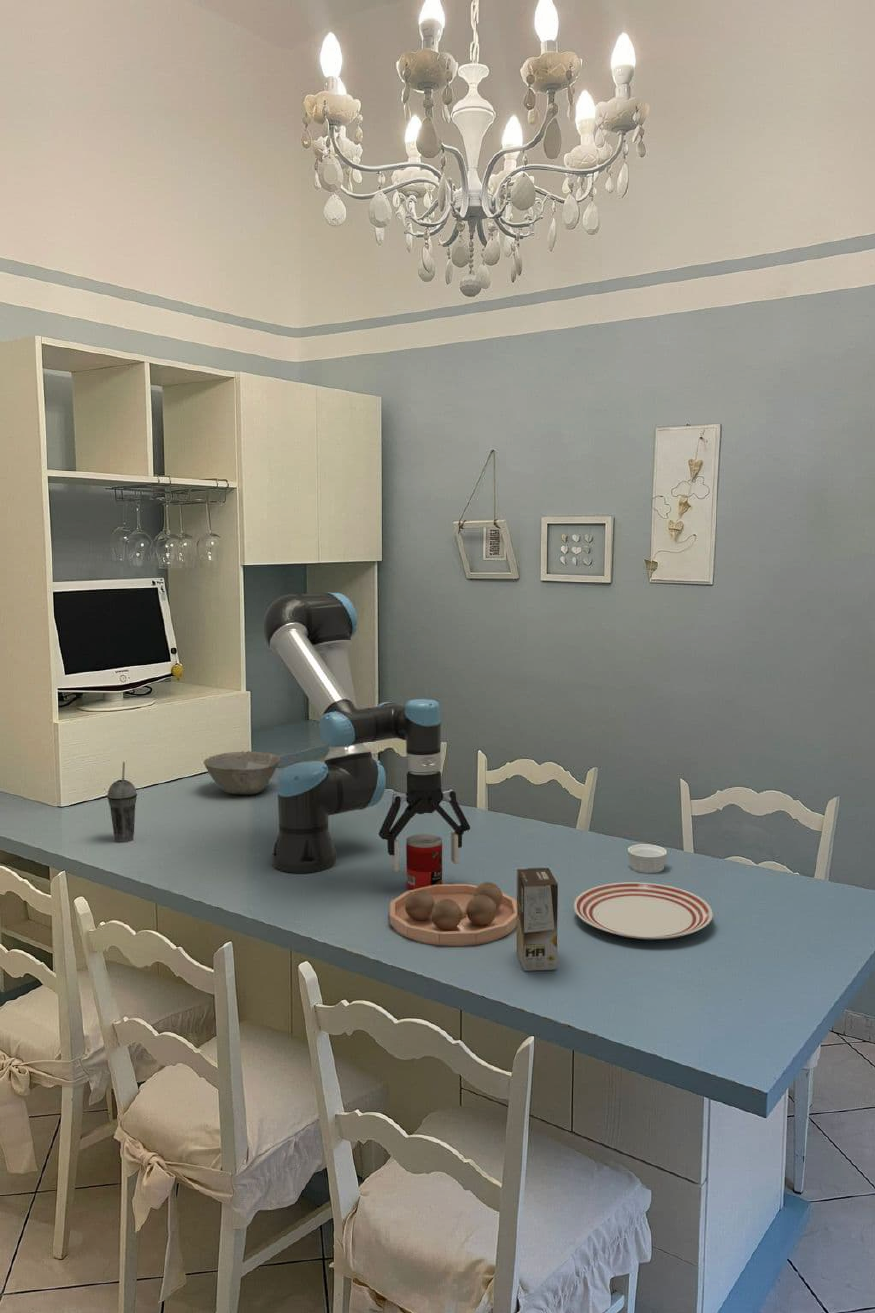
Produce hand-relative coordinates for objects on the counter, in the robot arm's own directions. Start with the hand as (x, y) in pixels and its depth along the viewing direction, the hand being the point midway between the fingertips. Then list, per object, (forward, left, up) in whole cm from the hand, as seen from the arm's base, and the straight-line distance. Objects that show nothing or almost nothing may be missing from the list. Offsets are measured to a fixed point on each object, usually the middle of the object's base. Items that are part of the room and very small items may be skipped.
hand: (425, 865), depth 219 cm
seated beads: (+15, -14, -4) cm, 20 cm away
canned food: (0, 0, -5) cm, 5 cm away
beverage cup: (-84, -6, -5) cm, 85 cm away
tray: (+14, -13, -5) cm, 19 cm away
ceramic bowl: (-86, +44, -5) cm, 97 cm away
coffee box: (+36, -23, -5) cm, 43 cm away
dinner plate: (+48, +4, -6) cm, 48 cm away
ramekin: (+40, +35, -5) cm, 53 cm away
